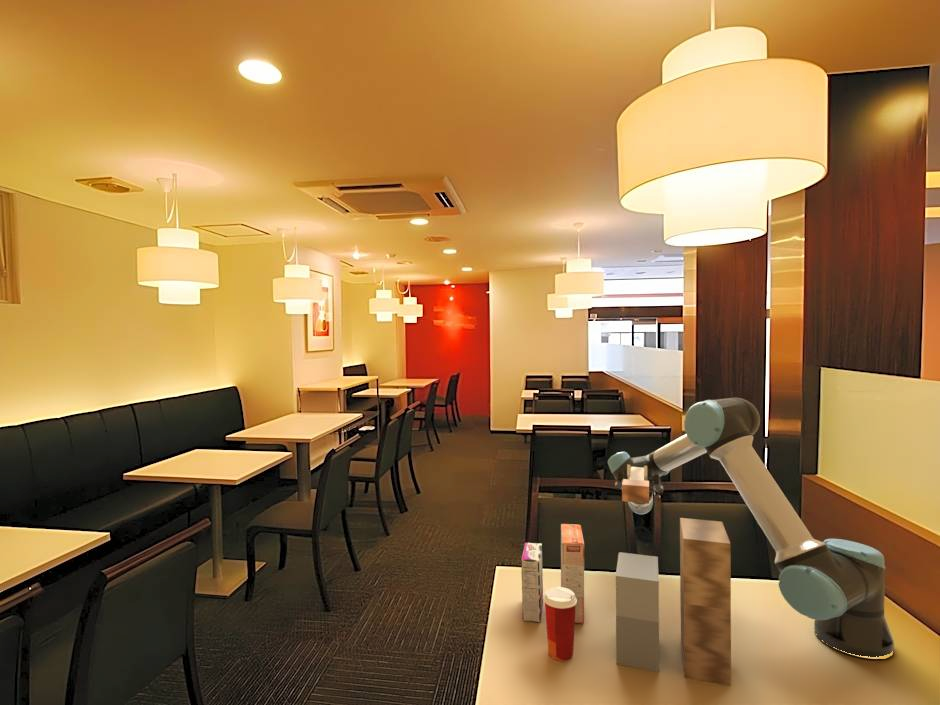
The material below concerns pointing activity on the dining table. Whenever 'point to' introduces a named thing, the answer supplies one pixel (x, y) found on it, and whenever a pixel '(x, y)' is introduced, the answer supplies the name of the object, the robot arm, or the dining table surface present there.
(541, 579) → the candy bar box
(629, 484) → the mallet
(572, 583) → the cracker box
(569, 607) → the paper cup
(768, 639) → the dining table surface
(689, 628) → the tall tower
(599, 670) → the dining table surface
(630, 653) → the short tower
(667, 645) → the dining table surface
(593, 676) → the dining table surface
